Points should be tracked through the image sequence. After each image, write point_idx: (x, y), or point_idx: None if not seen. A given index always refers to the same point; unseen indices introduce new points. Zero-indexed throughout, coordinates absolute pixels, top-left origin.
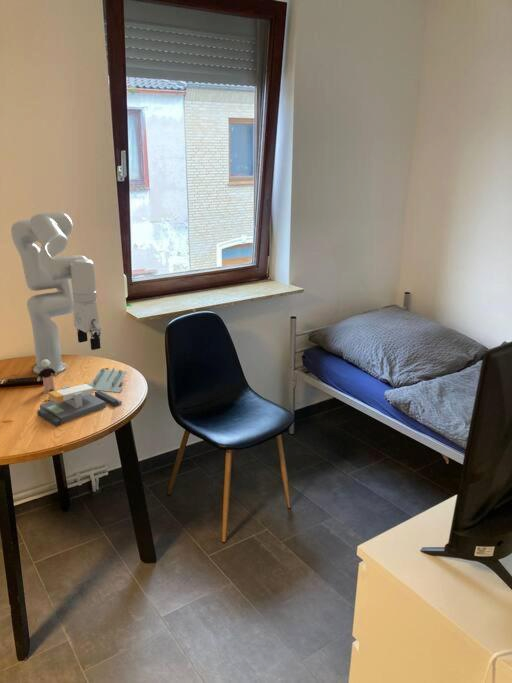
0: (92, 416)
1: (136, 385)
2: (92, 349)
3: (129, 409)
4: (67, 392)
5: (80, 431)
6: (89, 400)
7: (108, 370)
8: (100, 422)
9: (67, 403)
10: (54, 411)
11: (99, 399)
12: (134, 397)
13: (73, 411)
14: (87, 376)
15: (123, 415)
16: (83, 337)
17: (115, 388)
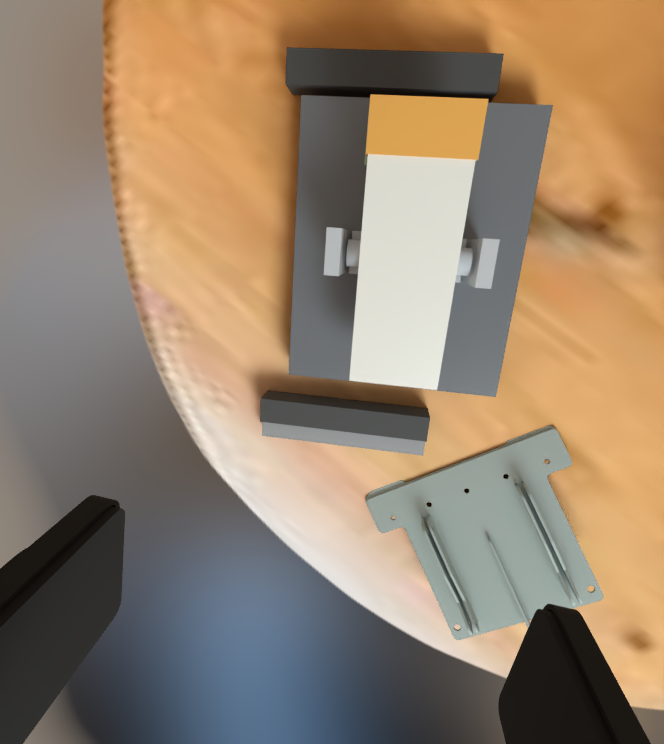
0: (259, 264)
1: (369, 585)
2: (91, 505)
3: (199, 413)
4: (393, 212)
5: (170, 126)
6: None
7: None
8: (183, 250)
9: None
10: None
11: (333, 374)
12: (278, 501)
13: (317, 196)
14: (658, 537)
15: (170, 360)
16: (538, 737)
17: (402, 510)
